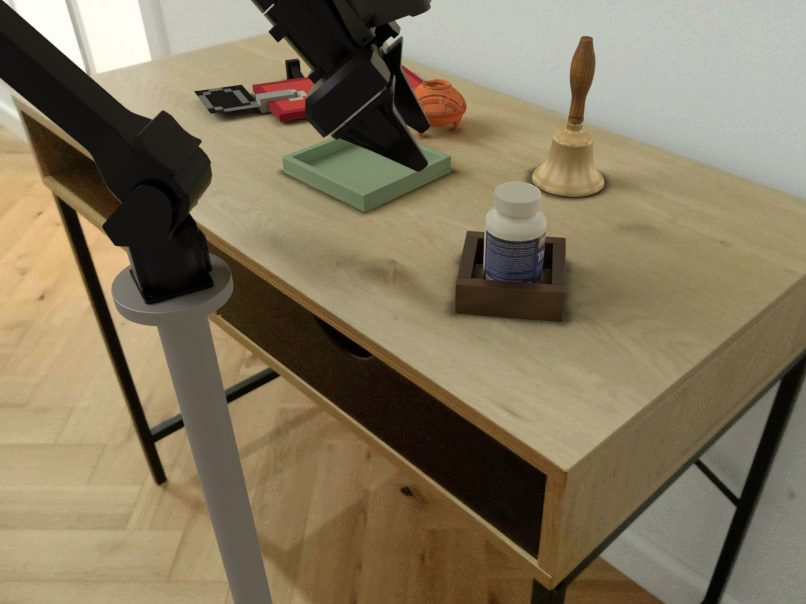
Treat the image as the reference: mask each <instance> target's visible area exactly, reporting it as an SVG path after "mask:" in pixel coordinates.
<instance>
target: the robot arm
mask: <svg viewBox="0 0 806 604" xmlns="http://www.w3.org/2000/svg"><path fill="white" fill-rule="evenodd" d="M250 1H251V3H252V4H253V5H254V6H255V7H256V9H258V11H259V12H260V13H261V15H263V16H264V18H265V19H266V20H267V21H268V22H269V23H270V24H271V26H272V27H271V28H270V29H269V30H268V31H267V32H268V33H269V35H270V36H271V37H272V38H273V39H274V40H275V42H276V43H280V42H281V41H282V40H283V39H284V41H285V42H286V43H287V44H288V45H289V46H290V47H291V48H292V49H293V51H294V52H295V53H296V54H297V55H298V57H299V58H300V59H301V60H302V61H303V62H304V63H305V64H306V66H307V67H308V68H309V69H310V71H309V72H308V74H307V77H308V78H309V79H310V80H311V81H312V82H313V83H314V85H313V86H312V87H311V89H310V91H309V93H308V95H307V97H306V99H305V118H304V119H305V120H306V121H307V123H309V124H310V125H311V126H312V127H313V129H314V130H316V132H317V133H318V134H319V135H320V136H321V137H322V138H323V139H324V138H326V137H328V136H329V135H330V138H334V139H335V140H338V139H342V140H344V141H347V142H350V143H352V144H355V145H357V146H360V147H362V148H365V149H367V150H370V151H372V152H374V153H377V154H379V155H381V156H383V157H386V158H388V159H390V160H392V161H395V162H397V163H399V164H401V165H403V166H406V167H408V168H410V169H412V170H414V171H417V172H420V171H422V170H423V169H424V168H425V167H427V166H428V160H427V159H426V157H425V155H424V153H423V152H422V150H421V148H420V146H419V145H418V143H419V142H417V140H416V138H415V137H414V135H413V134H412V132H411V130H410V129H412V130H414V131H415V132H417V133H418V132H419V133H421V134H422V133H424V132H425V133H426V132H427V131H428V130H430V129H431V127H430V123H429V121H428V119H427V117H426V115H425V113H424V111H423V109H422V107H421V105H420V103H419V101H418V99H417V97H416V95H415V93H414V91H413V89H412V86H411V84H410V82H409V80H408V78H407V76H406V74H405V72H404V70H403V68H402V65H403V63H402V61H403V50H404V49H403V48H404V36H403V35H401V36H400V34H401V28H402V27H400V25H399V23H397V21H398V20H401V19H403V18H406V17H411V18H414V17H417V16H420V15H423V14H425V13H427V12H428V11H430V10H431V8H432V5H431V3H432V0H250ZM398 36H399V37H398ZM397 37H398V38H397ZM390 38H392V39H393V40H394V41H393V42H392V43H390V45H389V44H388V43H387V42H386V41H388V40H389V39H390ZM0 80H1V81H2V82H4V83H5V84H6V85H7V86H9V87H10V88H11V89H12V90H13V91H14V92H15V93H17V94H18V95H19V96H20V97H22V98H24V100H25V101H27V102H28V103H29V104H30V105H31V106H32V107H34V108H35V109H36V110H37V111H39V113H41V114H42V115H43V116H45V117H46V118H47V119H48V120H50V121H51V122H52V123H53V124H54V125H56V127H58V128H59V129H61V131H63V132H64V133H65V134H66V135H68V137H70V138H71V139H73V140H74V141H75V142H76V143H77V144H78V145H80V146H81V147H82V148H83V149H85V150H86V151H87V152H88V153H89V155H90V156H91V157H92V159H93V161H94V165H96V167H97V170H98V172H99V174H100V176H101V178H102V180H103V182H104V184H105V186H106V189H108V190H109V192H110V193H111V194H112V195H113V196H114V197H115V198H116V199H117V200H118V201H119V202H120V205H118V207H117V208H116V209H115V210H114V211H113V212H112V214H111V215H109V217H107V219H106V220H105V222H104V223H103V224H102V226H101V228H102V230H103V231H104V233H105V234H106V235H107V237H108V239H109V240H110V241H111V243H112V244H113V245H114V246H115V247H121V248H122V247H123V248H125V251H126V254H127V258H128V262H129V265H131V269H130V270H129V272H130V275H131V277H132V279H133V281H134V283H135V285H136V287H137V289H138V291H139V293H140V295H141V297H142V299H143V301H144V303H145V304H147V305H151V304H155V303H158V302H162V301H165V300H169V299H173V298H176V297H180V296H183V295H187V294H190V293H194V292H198V291H201V290H205V289H208V288H211V287H213V286H214V282H213V279H212V278H211V276H210V275H209V272H211V271H212V264H211V260H210V255H209V253H210V251H209V245H208V241H207V237H206V234H205V233H204V231H203V230H202V228H201V227H200V225H199V224H198V223H197V221H196V220H195V219H194V217H193V216H192V214H191V212H192V211H193V209H194V208H196V207H197V205H198V203H199V201H200V200H201V198H202V197H203V195H204V194H205V193H206V191H207V190H208V189H209V187H210V185H211V184H212V178H213V170H212V161H211V158H210V157H209V156H208V154H207V153H206V152H205V151H204V150H203V148H202V147H201V146H200V145H201V144H202V143H203V140H202V139H201V138H199V137H197V136H194V135H192V134H191V133H189V132H188V131H187V130H185V129H184V128H183V126H182V125H181V124H180V123H179V122H178V121H177V120H176V118H175V117H174V116H173V115H172V114H171V113H169V112H168V111H166V110H164V109H162V110H160V111H159V112H158V113H157V114H156V115H155V116H154V118H149V117H147V116H143V115H142V114H138V113H135V112H133V111H131V110H129V108H127V107H126V106H124V105H123V103H121V102H120V101H119V100H117V99H116V98H115V97H114V96H113V95H112V94H110V92H109V91H107V90H106V89H105V88H104V87H103V86H101V85H100V84H99V83H98V82H97V81H96V80H95V79H94V78H92V76H90V75H89V74H88V73H86V72H85V71H84V70H83V69H82V68H81V67H80V66H79V65H77V64H76V63H75V62H74V61H73V60H72V59H71V58H70V57H68V55H66V54H65V53H64V52H63V51H62V50H60V49H59V48H58V47H57V46H56V45H55V44H53V43H52V42H51V41H50V40H49V39H48V38H46V37H45V35H43V34H42V33H41V32H39V30H38V29H36V28H35V27H34V26H33V25H32V24H30V23H29V22H28V21H27V20H26V19H25V18H24V17H23V16H22V15H21V14H19V13H18V12H17V11H16V10H14V9H13V8H12V6H10V5H9V4H8V3H6V1H4V0H0Z"/></svg>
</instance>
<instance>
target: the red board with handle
mask: <svg viewBox="0 0 806 604" xmlns="http://www.w3.org/2000/svg"><path fill="white" fill-rule="evenodd" d="M284 63H285V64H284V65H285V66H284V67H285V75H286V79H284V80H283V79H282V80H277V81H269V82H263V83H255V84H252V87H251V88H252V92H253V93H254V94H255V98H254V96H253V95H252V94H251V93H250V92H249V91H248V89H246V87H245V86H244V85H243V84H237V85H236V84H235V85H228V86H221V87H214V88H208V89H200V90H199V89H198V90H194V91H193V92H194V94H195V95H196V97H197V98H198V99H199V101H200V102H201V103H202V104H203V106H204V107H205V108H206V110H207V111H208V112H209V114H210V115H213V114H218V113H226V112H232V111H238V110H245V109H251V108H252V109H253V108H256V109H257V110H258V111H259V112H260V113H261V114H266V113H271V114H272V115H273V117H275V118H276V119H277V120H278V122H286V121H287V122H288V121H292V120H299V119H306V118H305V99H306V97H307V95H308V93H309V91H310V89H311V87H312V86H313V85H314V83H313V82H312V81H311V80H310V79H309V78H308V76H306V77H305V76H304V74H303V72H302V69H301V60H300V59H299V58H291V59H285V60H284ZM402 68H403V70H404V72H405V74H406V76H407V78H408V80H409V82H410V84H411V86H412V89H414V88H415V87H417V86H419V85H421V84H422V82H423V81H424V80H423V79H422V78H421V77H419V76H418V75H417V74H415V72H413V71H412V70H410V69H408V67H406V66H404V64H402Z"/></svg>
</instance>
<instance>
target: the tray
mask: <svg viewBox="0 0 806 604" xmlns="http://www.w3.org/2000/svg"><path fill="white" fill-rule="evenodd" d="M417 143H418V145H419V146H420V148H421V150H422V152H423V153H424V155H425V157H426V159H427V160H428V166H427V167H425V168H424V169H423V170H422V171H420V172H417V171H414V170H412V169H410V168H408V167H406V166H403V165H401V164H399V163H397V162H395V161H392V160H390V159H388V158H386V157H383V156H381V155H379V154H377V153H374V152H372V151H370V150H367V149H365V148H362V147H360V146H357V145H355V144H352V143H350V142H347V141H344V140H342V139H338V140H335V139H334V138H332V137H329V138H328V139H325V140H322V141H320V142H317V143H314V144H312V145H309V146H307V147H304V148H301V149H299V150H296V151H294V152H291V153H288V154H286V155H282V157H281V160H282V168H283V174H285V175H287V176H289V177H291V178H294V179H296V180H297V181H300V182H301V183H304V184H306V185H307V186H309V187H312V188H314V189H316V190H318V191H320V192H322V193H324V194H326V195H329V196H330V197H331V198H334V199H336V200H339V201H341V202H343V203H344V204H346V205H349V206H351V207H352V208H355V209H357V210H359V211H361V212H363V213H366V212H369V211H371V210H374V209H375V208H377V207H380V206H382V205H384V204H386V203H388V202H390V201H393V200H394V199H397V198H399V197H400V196H404V195H405V194H407V193H409V192H412V191H413V190H416V189H418V188H420V187H422V186H424V185H426V184H428V183H431V182H433V181H434V180H437V179H439V178H442V177H444V176H445V175H448V174H450V173H451V172H452V155H449V154H447V153H444V152H442V151H440V150H437V149H434V148H432V147H430V146H427V145H425V144H423V143H419V142H417Z"/></svg>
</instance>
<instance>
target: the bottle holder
mask: <svg viewBox="0 0 806 604" xmlns="http://www.w3.org/2000/svg"><path fill="white" fill-rule="evenodd" d="M484 234H485V231H479V230H466V233H465V238H464V243H463V247H462V253H461V257H460V263H459V267H458V271H457V276H456V282H455V288H454V289H455V291H454V293H455V294H454V304H455V305H454V313H455V314H463V315H465V314H466V315H476V316H491V317H502V318H516V319H528V320H540V321H550V322H551V321H553V322H562V321H563V318H564V311H565V310H564V309H565V301H566V288H567V287H566V286H567V285H566V284H567V283H566V282H567V281H566V279H567V277H566V275H567V274H566V273H567V271H566V270H567V237H562V236H561V237H560V236H547V235H546V238H545V249H544V259H543V268H542V270H543V271H544V270H545V271H546V270H547V271H549V284H548V283H541V284H537V283H524V282H511V281H498V280H485V279H483V278H476V274H477V269H478V266H479V265H480V266H483V262H484Z"/></svg>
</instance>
